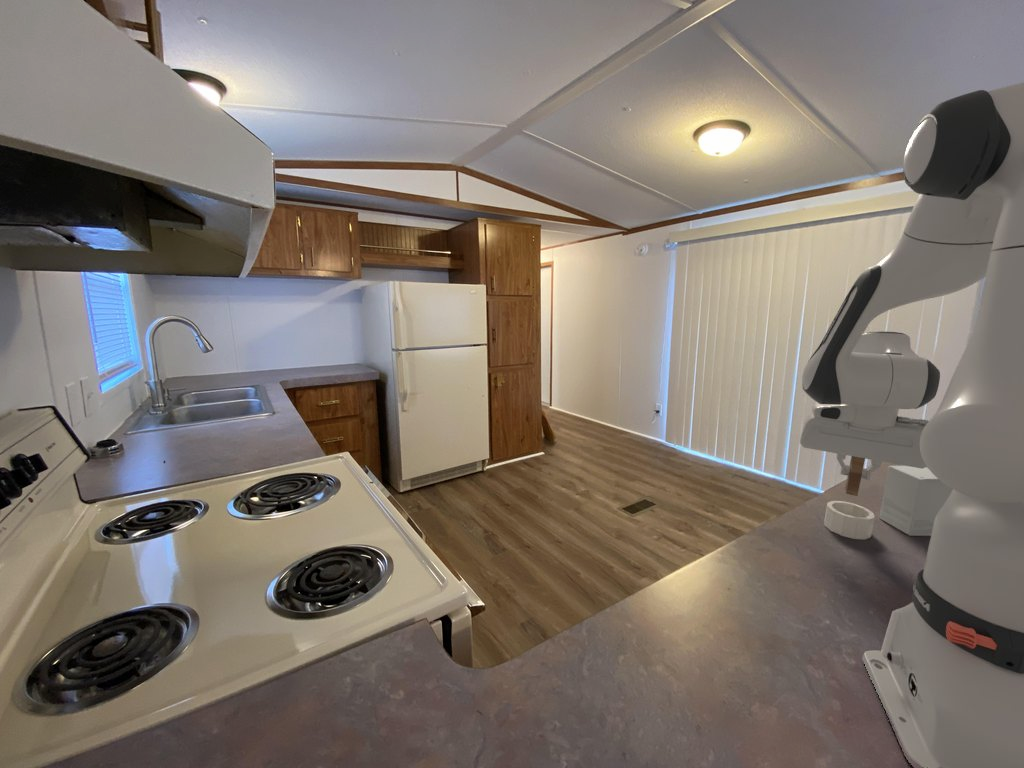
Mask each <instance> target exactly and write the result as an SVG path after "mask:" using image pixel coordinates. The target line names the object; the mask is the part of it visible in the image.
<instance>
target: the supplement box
mask: <svg viewBox="0 0 1024 768" xmlns="http://www.w3.org/2000/svg"><path fill="white" fill-rule="evenodd" d="M952 491H953V489H952V488H950V487H948V486H947V485H945V484H944V483H943V482H941V481H940V480H939V479H938V478H937V477H936V476H935V475H934V474H933V473H932V472H931V471H930V470H929V469H928V467H925V468H923V469H921V468H916V467H910V466H904V465H888V468H887V474H886V478H885V484H884V490H883V496H882V500H881V501H882V502H881V506H880V512H879V513H880V514H879V519H880V520H882V521H884V522H886V523H887V524H888V525H890V526H893V527H894V528H895V529H897V530H899V531H900V532H902V533H904V534H906V535H908V536H912V537H913V536H914V537H917V536H918V537H921V536H922V537H931V534H932V530H933V526H934V521H935V518H936V515H937V514H938V512H939V511H940V509H941V508H942V507H943V506H944V504H945V503H946V501H947V499H948V498H949V496H950V494H951V492H952Z"/></svg>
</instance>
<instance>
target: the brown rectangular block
mask: <svg viewBox="0 0 1024 768" xmlns="http://www.w3.org/2000/svg"><path fill="white" fill-rule="evenodd" d="M865 460H866V459H865V458H859V457H854V456H850V462H849V466H850V468H851V470H850V475H849V476H847V475H846V482H845V489H844V490H845V494H846V495H850V496H855V497H858V495H859V490H860V485H861V481H862V478H861V476H862V471H863V468H864V465H865Z"/></svg>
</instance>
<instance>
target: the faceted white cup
mask: <svg viewBox="0 0 1024 768" xmlns="http://www.w3.org/2000/svg"><path fill="white" fill-rule="evenodd" d="M874 522H875V514H874V512H872V511H871V510H870V509H868V508H867V507H865V506H862V505H858V504H856V503H853V502H848V501H844V500H831V501H828V502H827V504H826V509H825V516H824V520H823V523H824V524H823V525H824V527H826V528H827V529H828V530H829V531H831V532H832V533H834V534H837V535H839V536H841V537H845V538H850V539H852V540H867V539H870V538H871V537H872V532H873V528H874Z"/></svg>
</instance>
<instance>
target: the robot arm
mask: <svg viewBox="0 0 1024 768" xmlns="http://www.w3.org/2000/svg"><path fill="white" fill-rule="evenodd" d="M902 168H903V169H902V171H903V179H904V183H905V184H906V185H907V187H909V188H910V189H911V190H912V191H913V192H914V193H916V194H918V197H917V199H916V201H915V204H914V205H913V207H912V210H911V212H910V214H909V216H908V219H907V222H906V224H905V226H904V230H903V232H902V235H901V237H900V239H899V240H898V242H897V243H896V245H895V246H894V247H893V248H892V250H891V251H890V252H889V253H888V254H887V255H886V256H885V257H884V258H883V259H882V260H880V262H878V263H876V264H874V265H872V266H870V267H867V268H866V269H864V270H863V271H862V273H861V274H859V276H858V277H857V279H856V280H855V281H854V282H853V285H852V286H851V287H850V290H849V291H848V293H847V295H846V296H845V298H844V300H843V302H842V304H841V305H840V307H839V309H838V311H837V313H836V315H835V316H834V318H833V320H832V322H831V324H830V326H829V327H828V328H827V331H826V333H825V335H824V337H823V338H822V340H821V342H820V344H819V346H818V347H817V348H816V349H815V351H814V353H812V355H811V357H810V358H809V359H808V362H807V363H806V365H805V367H804V369H803V372H802V376H801V377H802V381H801V382H802V383H801V384H802V390H803V391H804V393H806V395H807V396H809V397H810V398H811V399H812V400H813V401H814V403H813V404H812V409H811V410H812V411H811V413H809V415H807V417H806V418H805V421H804V423H803V427H802V429H801V433H800V438H799V444H800V445H801V446H802V448H805V449H810V450H814V451H815V450H816V451H821V452H827V453H832V454H836V455H835V457H836V460H837V462H838V463H839V466H840V470H839V473H840V475H843V476H846V477H847V476H849V475H850V470H851V468H850V465H847V464H845V461H844V460H846V459H847V458H846V457H847V456H850V457H851V456H854V457H859V458H865V460H870V461H869V462H870V464H869V466H868V467H866V468H864V467H863V471H862V476H861V480H868V481H870V480H871V477H872V473H874V472H876V471H877V470H878V469H879V468H881V464H882V463H889V464H894V465H898V466H910V467H916V468H921V469H923V468H925V467H926V468H928V469H929V470H930V471H931V472H932V473H933V474H934V475H935V476H936V477H937V478H938V479H939V480H940V481H941V482H943V483H944V484H945V485H947V486H948V487H950V488H952V489H953V491H952V492H951V494H950V496H949V498H948V499H947V501H946V503H945V504H944V506H943V507H942V508H941V509H940V511H939V512H938V514H937V515H936V518H935V521H934V526H933V530H932V534H931V536H930V540H929V544H928V548H927V553H926V556H925V557H926V558H925V562H924V566H923V569H921V570H919V572H918V573H917V576H916V579H915V580H914V582H913V586H912V590H913V591H912V596H911V600H912V601H911V602H910V603H908V604H907V605H905V606H903V607H900V608H896V609H895V610H892V612H891V615H890V618H889V622H888V626H887V628H886V632H885V635H884V639H883V641H882V646H881V649H880V650H866V651H864V653H863V654H862V655H863V656H861V657H862V658H861V661H862V660H863V661H862V663H863V662H864V663H863V665H864V664H865V666H864V668H865V667H866V668H865V670H866V669H867V670H866V672H867V671H868V673H867V675H868V674H869V675H868V677H869V676H870V677H869V679H870V681H871V680H872V682H871V683H873V684H874V686H873V688H874V687H875V689H876V691H875V693H876V692H877V693H878V695H879V698H880V699H881V702H882V703H883V706H884V708H885V710H886V712H887V713H888V715H889V717H890V719H891V721H892V723H893V724H894V727H895V729H896V731H897V734H898V736H899V738H900V741H901V743H902V745H903V748H904V750H905V752H906V753H907V755H908V756H909V758H911V759H912V760H913V761H915V762H916V763H917V764H919V765H920V766H921V767H924V768H927V767H928V768H1024V81H1023V82H1019V83H1016V84H1012V85H1011V84H1010V85H1007V86H1003V87H1000V88H999V87H998V88H995V89H992V90H989V91H988V90H987V91H986V90H984V89H978V90H975V91H972V92H968V93H966V94H965V93H964V94H962V95H959V96H956V97H952V98H950V99H947V100H945V101H943V102H939V104H937V105H936V106H934V107H933V108H931V110H930V111H929V112H927V113H926V115H925V116H924V117H923V118H922V119H921V120H920V121H919V122H918V124H917V125H916V127H915V128H914V130H913V132H912V135H911V137H910V139H909V141H908V144H907V146H906V149H905V151H904V156H903V167H902ZM983 279H984V282H983V288H982V292H981V296H980V301H979V306H978V312H977V316H976V319H975V323H974V326H973V329H972V333H971V335H970V338H969V340H968V342H967V345H966V347H965V349H964V351H963V353H962V355H961V358H960V359H959V362H958V364H957V366H956V368H955V370H954V372H953V375H952V376H951V379H950V381H949V383H948V385H947V389H946V390H945V393H944V396H943V399H942V400H941V403H940V405H939V406H938V409H937V410H936V412H935V413H934V414H933V416H932V417H931V418H930V419H929V420H927V419H922V418H919V419H917V418H913V417H912V418H911V417H905V416H901V415H900V416H899V415H898V413H899V410H912V409H915V410H916V409H919V408H921V407H924V406H925V405H928V403H930V402H931V401H932V400H934V399H935V397H936V395H937V393H938V389H939V385H940V378H941V372H940V370H939V368H937V366H936V365H935V364H933V362H931V361H930V360H929V359H927V358H926V357H922V356H919V355H918V354H917V353H916V352H914V351H913V349H912V348H911V337H910V336H909V335H908V334H906V333H902V332H897V331H867V332H865V331H866V330H867V328H868V326H869V325H870V323H871V322H872V321H874V319H875V318H877V317H879V316H880V315H882V314H884V313H885V312H888V311H891V310H893V309H896V308H898V307H902V306H906V305H909V304H912V303H915V302H920V301H921V302H922V301H926V300H929V299H930V300H931V299H934V298H939V297H942V296H947V295H951V294H954V293H956V292H959V291H962V290H963V289H966V288H969V287H971V286H973V285H975V284H976V283H978V282H979V281H981V280H983ZM873 684H872V685H873ZM875 689H874V690H875ZM877 693H876V694H877ZM878 695H877V696H878ZM879 698H878V699H879ZM881 702H880V703H881ZM901 720H902V721H904V722H902V721H901Z"/></svg>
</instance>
